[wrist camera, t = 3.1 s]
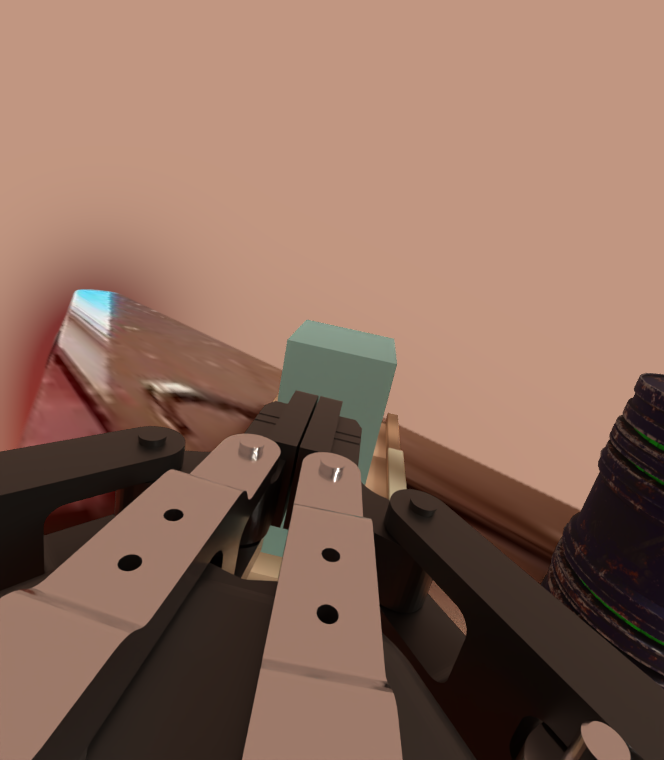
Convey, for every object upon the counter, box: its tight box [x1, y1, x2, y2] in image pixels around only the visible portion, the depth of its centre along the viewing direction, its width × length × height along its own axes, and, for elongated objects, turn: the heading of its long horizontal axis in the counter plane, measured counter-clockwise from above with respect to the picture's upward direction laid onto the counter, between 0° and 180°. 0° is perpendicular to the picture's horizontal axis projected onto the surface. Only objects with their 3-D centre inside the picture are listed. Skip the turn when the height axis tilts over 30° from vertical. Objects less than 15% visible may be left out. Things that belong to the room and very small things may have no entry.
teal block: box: [261, 320, 397, 557], centre depth 23 cm, size 5×5×12 cm
